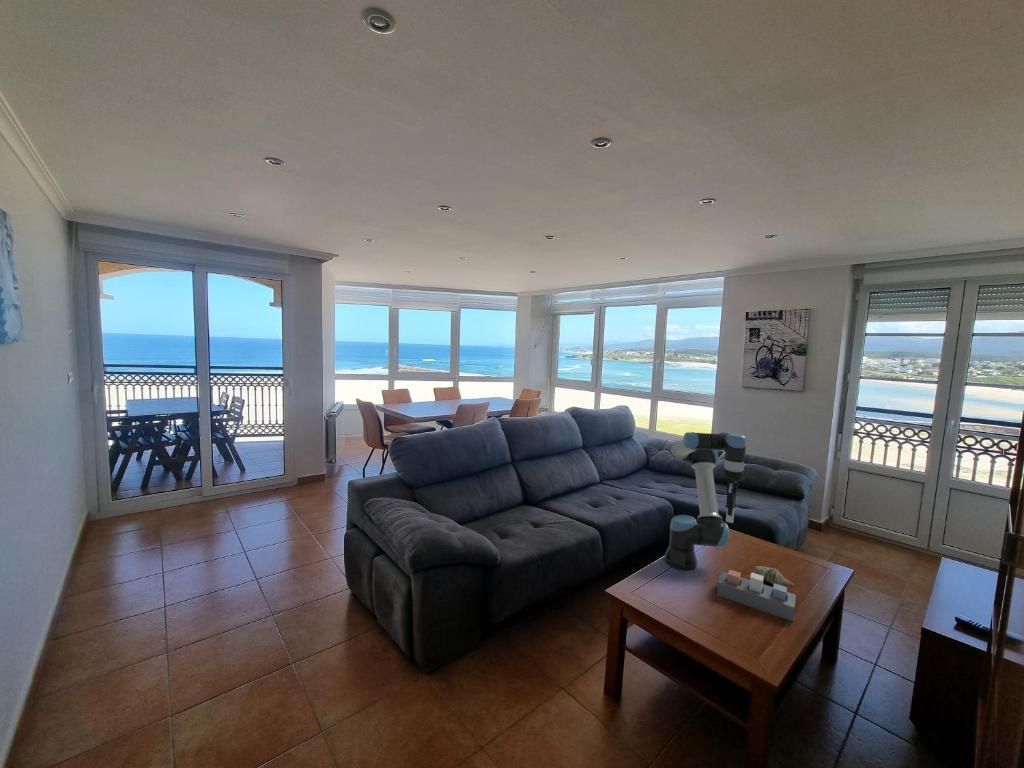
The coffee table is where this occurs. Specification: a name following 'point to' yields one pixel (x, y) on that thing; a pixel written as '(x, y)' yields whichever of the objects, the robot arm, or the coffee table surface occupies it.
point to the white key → (756, 582)
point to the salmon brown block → (734, 577)
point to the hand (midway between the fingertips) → (729, 521)
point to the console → (757, 597)
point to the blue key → (779, 592)
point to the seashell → (772, 576)
